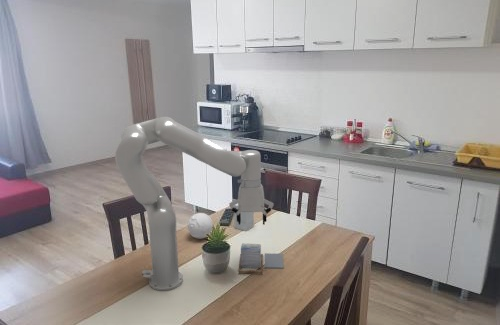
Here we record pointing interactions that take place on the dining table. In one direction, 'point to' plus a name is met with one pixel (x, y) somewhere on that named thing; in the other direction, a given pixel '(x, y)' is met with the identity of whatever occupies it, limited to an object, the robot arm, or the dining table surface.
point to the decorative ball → (200, 225)
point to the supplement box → (244, 220)
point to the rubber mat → (274, 261)
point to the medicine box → (251, 255)
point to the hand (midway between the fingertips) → (251, 223)
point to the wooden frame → (251, 272)
